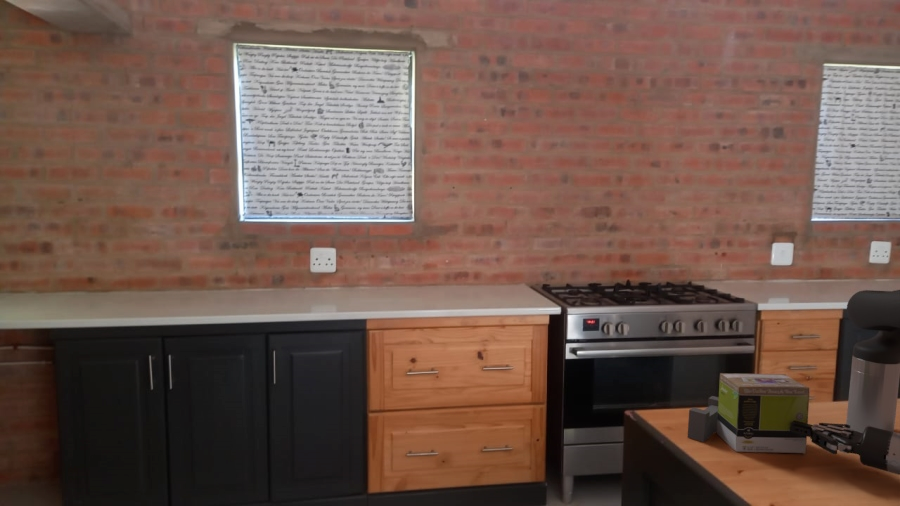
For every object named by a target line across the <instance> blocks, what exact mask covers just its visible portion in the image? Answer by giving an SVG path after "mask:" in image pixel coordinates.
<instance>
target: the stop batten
mask: <svg viewBox="0 0 900 506" xmlns="http://www.w3.org/2000/svg"><path fill="white" fill-rule="evenodd" d="M718 402H719V396H714V395H711V396H710V397H708V398H707V403H708V404H707V407H706V408H705V409H701V408H697V407H695V406H694V407H691V408H689V412H688V421H687V422H688V424H687V438H689V439H692V440H696V441H698V442H701V443H704V442H706V441H708V439H709V438H710V437H712V436H713V435H714V434H716V433H717V420H718Z"/></svg>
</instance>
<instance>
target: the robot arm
mask: <svg viewBox="0 0 900 506" xmlns="http://www.w3.org/2000/svg"><path fill="white" fill-rule="evenodd" d="M846 314H847V318H848V319H849V321H850V322H851V323H852V324H853V325H854V326H855V327H857V328H859V329H861V330H867V331H878V333H876V335H874V336H873V337H870V338H868V339H866V340H862V341H858V342H856V343H855V344H854V345H853V348H852V349H853V350H852V357H851V358H852V359H851V368H850V370H851V371H850V379H849V392H848V401H847V411H846V422H845V423H832V422H831V423H829V422H828V423H827V422H819V423H818V424H816V423H815V424H811V423H808V424H807V423H803V422H799V421H795V420H794V421H793V422H791V425H790V431H791V432H793V433H796V434H800V435H804V436H807V437H808V438H810V440H811V443H813V444H815V445H816V446H818V447H820V448H821V449H823V450H825V451H826V452H829V453H830V454H833V455H838V452H841V453H844V454H853V455H854V454H855V455H858V456H859V462H860V463H861V464H862V465H863V466H867V467H870V468H874V469H877V470H880V471H881V470H882V471H883V472H888V473H891V474H895V475H898V476H900V432H895V423H896V416H897V404H898V396H899V387H900V386H899V385H900V289H896V290H892V291H891V290H869V289H868V290H867V289H866V290H865V289H864V290H860V291H858V292H855V293H854V294H853V295H852V296H851V297H850V298H849V300H848V302H847V305H846Z"/></svg>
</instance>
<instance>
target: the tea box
mask: <svg viewBox="0 0 900 506" xmlns="http://www.w3.org/2000/svg"><path fill="white" fill-rule="evenodd" d="M718 387H719V388H718V397H719V402H718V420H717V432H716V433H717V435H718V436H719V437H720V438H721V440H723V441H724V442H725V443H726V444H727V445H728V446H729V447H730V448H731V449H732V450H733V451H735V452H736V453H737V452H738V453H740V452H742V453H744V452H746V453H778V454H779V453H783V454H785V453H786V454H787V453H789V454H806V453H807V437H808V436H804V435H800V434H796V433H793V432H791V431H790V425H791V422H793V421H794V420H795V421H799V422H803V423H807V424H809V423H808V421H809V406H810V405H809V404H810V387H809V386H807V385H805V384H803V383H801V382H799V381H797V380H795V379H793V378H792V377H790V376H789V375H786V374H785V373H725V372H724V373H723V372H720V373H719V385H718Z"/></svg>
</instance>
